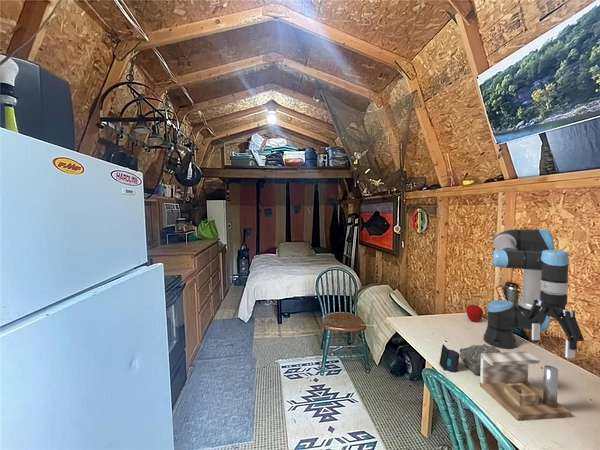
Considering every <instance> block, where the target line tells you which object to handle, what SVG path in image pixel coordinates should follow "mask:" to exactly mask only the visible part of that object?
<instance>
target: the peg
mask: <svg viewBox="0 0 600 450" xmlns="http://www.w3.org/2000/svg"><path fill="white" fill-rule="evenodd" d="M542 385H543V386H542V388H543V391H542V392H543V403H544V404H545V405H547V406H549V407H552V408H556V407H557V403H558V393H559V392H558V387H559V369H558V368H557V367H555V366H553V365H547V364H546V365H544V366H543V384H542Z"/></svg>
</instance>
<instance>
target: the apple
mask: <svg viewBox="0 0 600 450" xmlns="http://www.w3.org/2000/svg"><path fill="white" fill-rule="evenodd" d="M465 312H466V316H467V318H468V320H470V321H472V322H481V320H482V318H483V316H484V310H483V308H482V307H481V306H478V305H475V304H469V305H468V306H466V308H465Z"/></svg>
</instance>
